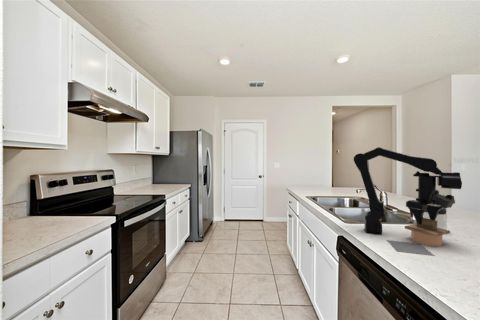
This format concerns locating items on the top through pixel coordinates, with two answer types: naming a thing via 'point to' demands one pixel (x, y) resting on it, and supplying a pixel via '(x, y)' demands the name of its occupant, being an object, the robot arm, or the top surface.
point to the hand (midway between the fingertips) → (426, 223)
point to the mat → (409, 248)
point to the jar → (439, 218)
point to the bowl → (426, 239)
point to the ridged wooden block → (428, 228)
